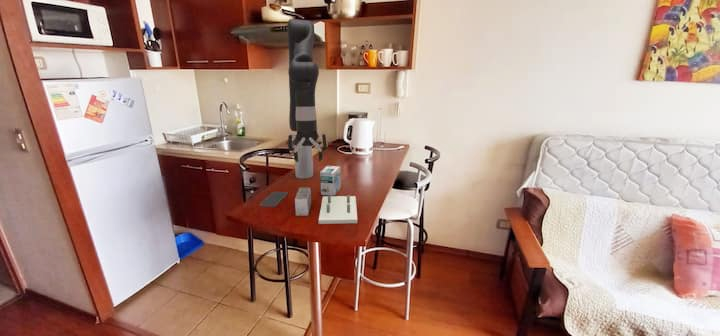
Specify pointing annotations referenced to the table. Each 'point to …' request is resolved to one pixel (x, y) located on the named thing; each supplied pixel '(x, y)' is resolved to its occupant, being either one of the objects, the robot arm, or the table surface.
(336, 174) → the light bulb box
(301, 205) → the plate
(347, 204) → the peg board
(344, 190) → the table surface
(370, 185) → the table surface
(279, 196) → the smartphone
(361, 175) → the table surface
